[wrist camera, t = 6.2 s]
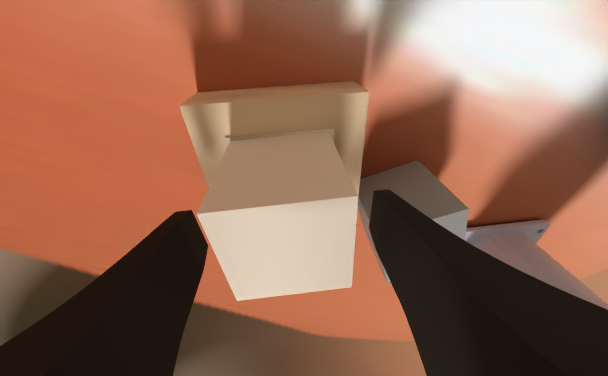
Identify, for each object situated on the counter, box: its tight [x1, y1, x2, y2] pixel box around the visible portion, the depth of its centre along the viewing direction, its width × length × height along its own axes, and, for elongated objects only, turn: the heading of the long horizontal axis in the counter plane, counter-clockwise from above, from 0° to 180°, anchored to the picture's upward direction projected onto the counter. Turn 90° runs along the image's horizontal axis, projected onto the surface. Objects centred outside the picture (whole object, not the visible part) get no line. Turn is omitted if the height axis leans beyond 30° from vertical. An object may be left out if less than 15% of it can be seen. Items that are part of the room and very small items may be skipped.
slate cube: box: [358, 160, 469, 283], centre depth 14 cm, size 4×4×5 cm
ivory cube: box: [197, 131, 358, 301], centre depth 10 cm, size 4×4×5 cm
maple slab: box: [179, 81, 369, 195], centre depth 13 cm, size 8×8×3 cm
